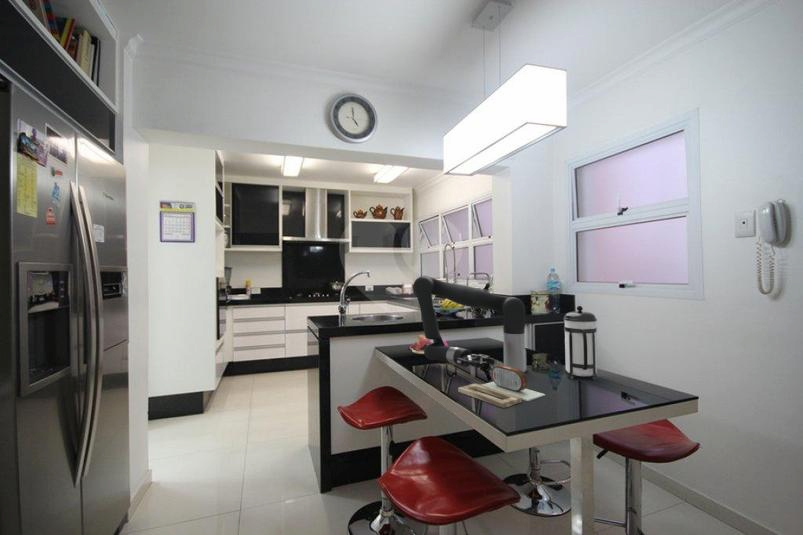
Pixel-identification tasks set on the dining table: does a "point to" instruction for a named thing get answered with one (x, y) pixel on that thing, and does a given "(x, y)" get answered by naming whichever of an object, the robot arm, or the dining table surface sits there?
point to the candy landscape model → (423, 344)
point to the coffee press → (580, 344)
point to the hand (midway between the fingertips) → (486, 363)
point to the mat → (524, 394)
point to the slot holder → (504, 403)
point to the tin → (509, 378)
